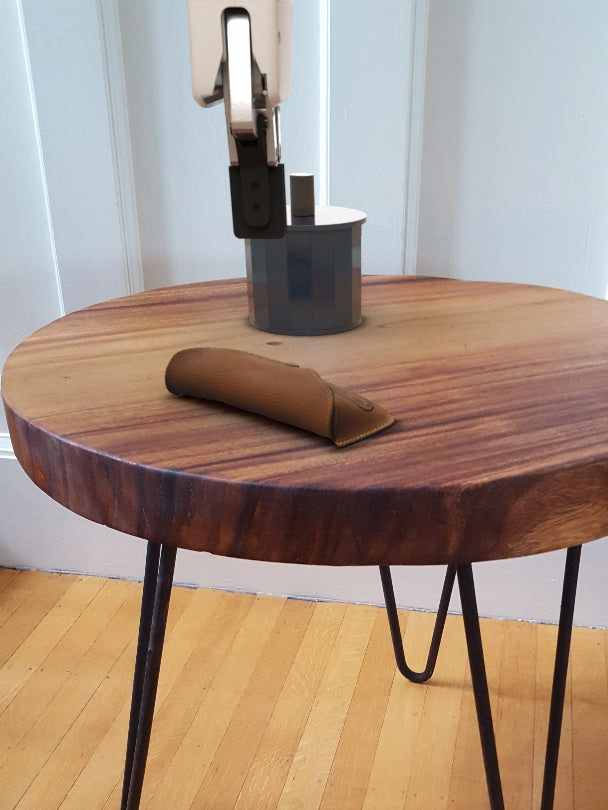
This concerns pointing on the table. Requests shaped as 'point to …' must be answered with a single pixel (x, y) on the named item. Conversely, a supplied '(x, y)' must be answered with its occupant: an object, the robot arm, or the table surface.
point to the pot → (305, 282)
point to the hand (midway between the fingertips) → (261, 235)
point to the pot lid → (316, 209)
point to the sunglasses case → (276, 392)
